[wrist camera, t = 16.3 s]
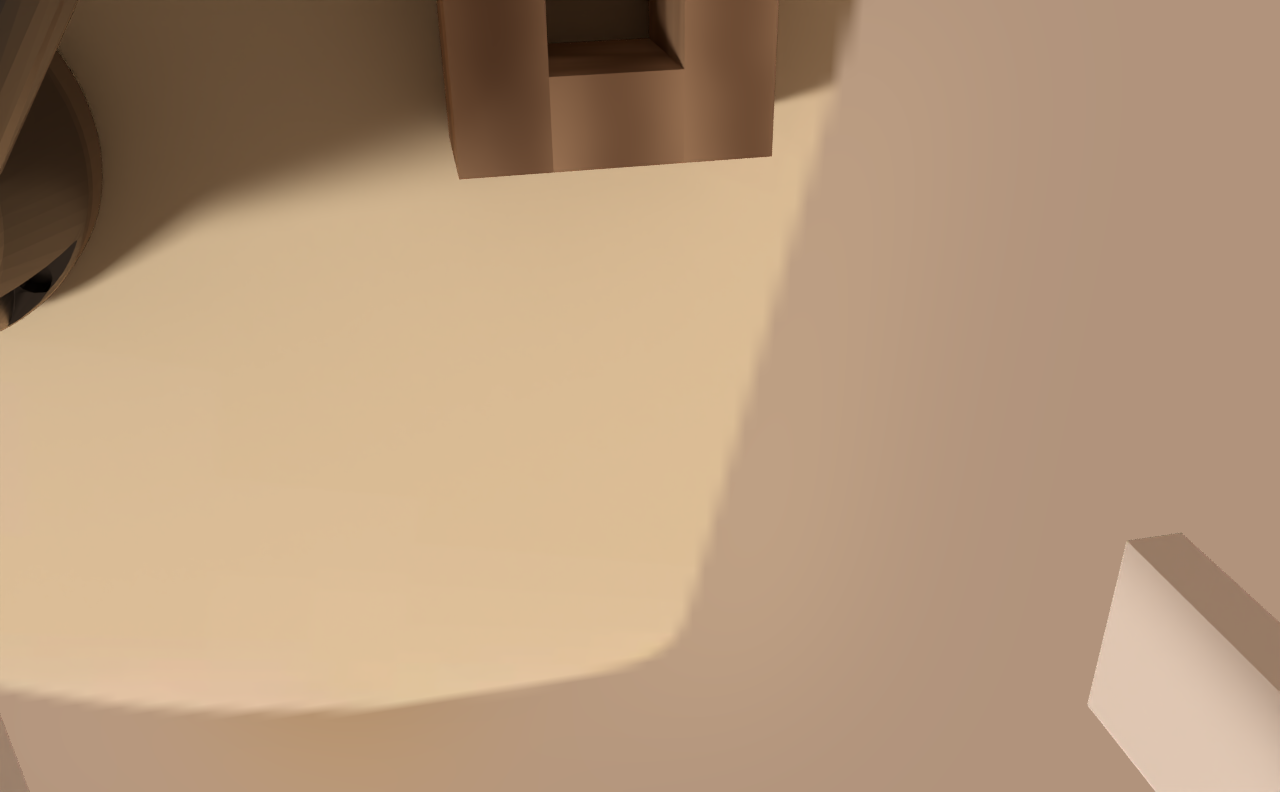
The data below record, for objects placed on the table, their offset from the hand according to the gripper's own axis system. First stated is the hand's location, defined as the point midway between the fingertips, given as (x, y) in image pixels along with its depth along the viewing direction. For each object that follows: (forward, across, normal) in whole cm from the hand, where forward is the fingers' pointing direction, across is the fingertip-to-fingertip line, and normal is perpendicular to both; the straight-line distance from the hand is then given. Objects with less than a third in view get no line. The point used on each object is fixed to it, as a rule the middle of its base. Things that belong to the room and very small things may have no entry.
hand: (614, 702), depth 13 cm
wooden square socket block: (+37, +6, +3) cm, 37 cm away
